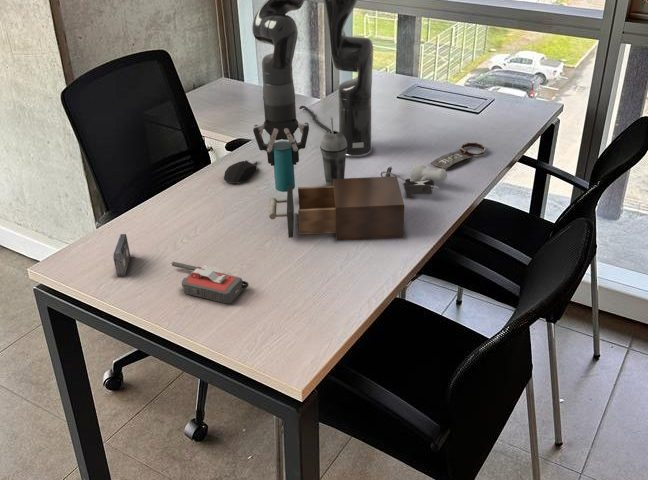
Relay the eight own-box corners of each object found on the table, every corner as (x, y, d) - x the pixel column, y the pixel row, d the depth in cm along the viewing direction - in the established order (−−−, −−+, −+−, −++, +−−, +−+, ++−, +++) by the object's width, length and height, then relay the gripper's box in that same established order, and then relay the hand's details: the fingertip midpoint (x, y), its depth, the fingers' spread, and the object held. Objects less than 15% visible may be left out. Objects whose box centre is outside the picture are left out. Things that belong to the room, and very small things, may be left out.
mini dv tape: (123, 256, 167) (119, 234, 164) (130, 256, 167) (125, 233, 164) (117, 276, 160) (112, 253, 157) (124, 276, 160) (119, 253, 157)
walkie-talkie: (254, 284, 156) (175, 266, 163) (252, 267, 154) (172, 249, 161) (234, 307, 150) (152, 287, 156) (231, 289, 147) (149, 269, 154)
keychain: (426, 163, 205) (426, 157, 204) (471, 144, 216) (471, 138, 215) (447, 172, 200) (447, 166, 199) (491, 152, 211) (492, 146, 210)
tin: (274, 192, 183) (271, 149, 177) (275, 183, 188) (272, 141, 182) (295, 191, 184) (293, 149, 178) (295, 182, 188) (293, 140, 182)
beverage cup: (352, 182, 197) (351, 111, 186) (343, 194, 191) (342, 122, 180) (326, 178, 199) (324, 109, 188) (317, 190, 193) (314, 119, 182)
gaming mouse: (266, 165, 207) (265, 152, 205) (239, 187, 196) (238, 173, 194) (247, 161, 209) (246, 148, 207) (219, 183, 198) (218, 169, 196)
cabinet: (336, 240, 171) (335, 207, 166) (333, 210, 184) (332, 178, 179) (403, 237, 171) (404, 204, 167) (396, 207, 184) (396, 176, 179)
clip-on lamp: (373, 196, 196) (430, 201, 184) (368, 175, 193) (425, 178, 181) (397, 176, 203) (453, 179, 192) (392, 155, 200) (448, 157, 189)
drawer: (270, 238, 171) (267, 212, 167) (271, 210, 182) (269, 186, 179) (350, 235, 171) (350, 209, 168) (347, 207, 183) (346, 182, 179)
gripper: (309, 92, 177) (312, 156, 186) (249, 94, 176) (255, 158, 185) (309, 103, 170) (312, 169, 179) (248, 105, 170) (254, 171, 179)
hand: (283, 163), depth 182 cm, fingers closed on tin, 5 cm apart
